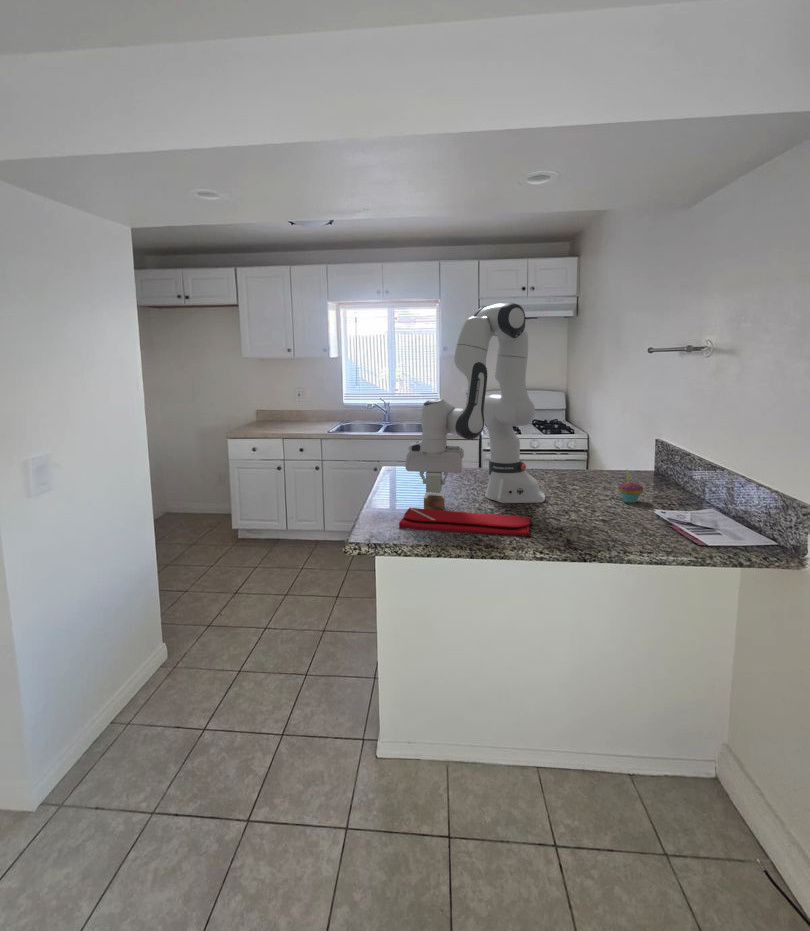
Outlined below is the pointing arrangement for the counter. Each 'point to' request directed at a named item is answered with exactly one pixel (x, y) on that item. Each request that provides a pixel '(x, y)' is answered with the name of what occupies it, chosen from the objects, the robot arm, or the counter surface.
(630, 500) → the cupcake
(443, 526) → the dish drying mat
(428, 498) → the walnut block
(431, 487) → the sage tin
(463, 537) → the counter surface
